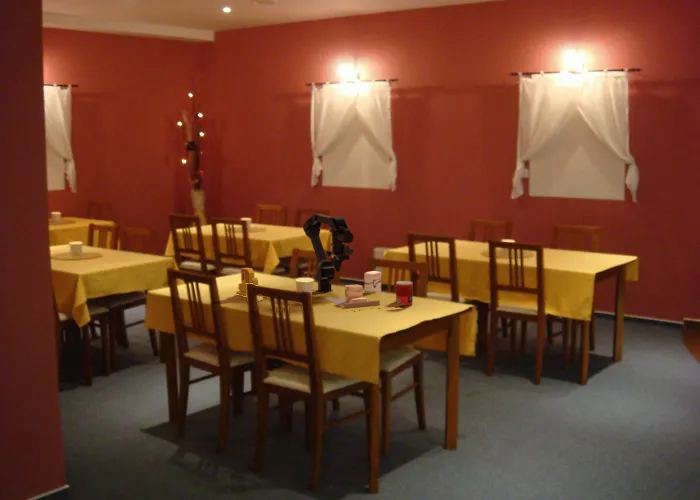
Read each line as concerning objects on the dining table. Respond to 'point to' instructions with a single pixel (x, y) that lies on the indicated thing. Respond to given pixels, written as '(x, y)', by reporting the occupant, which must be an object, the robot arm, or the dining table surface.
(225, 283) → the dining table surface
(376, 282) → the ink box
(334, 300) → the board
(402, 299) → the canned food
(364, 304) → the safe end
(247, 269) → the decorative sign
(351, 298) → the birch block
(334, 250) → the robot arm
